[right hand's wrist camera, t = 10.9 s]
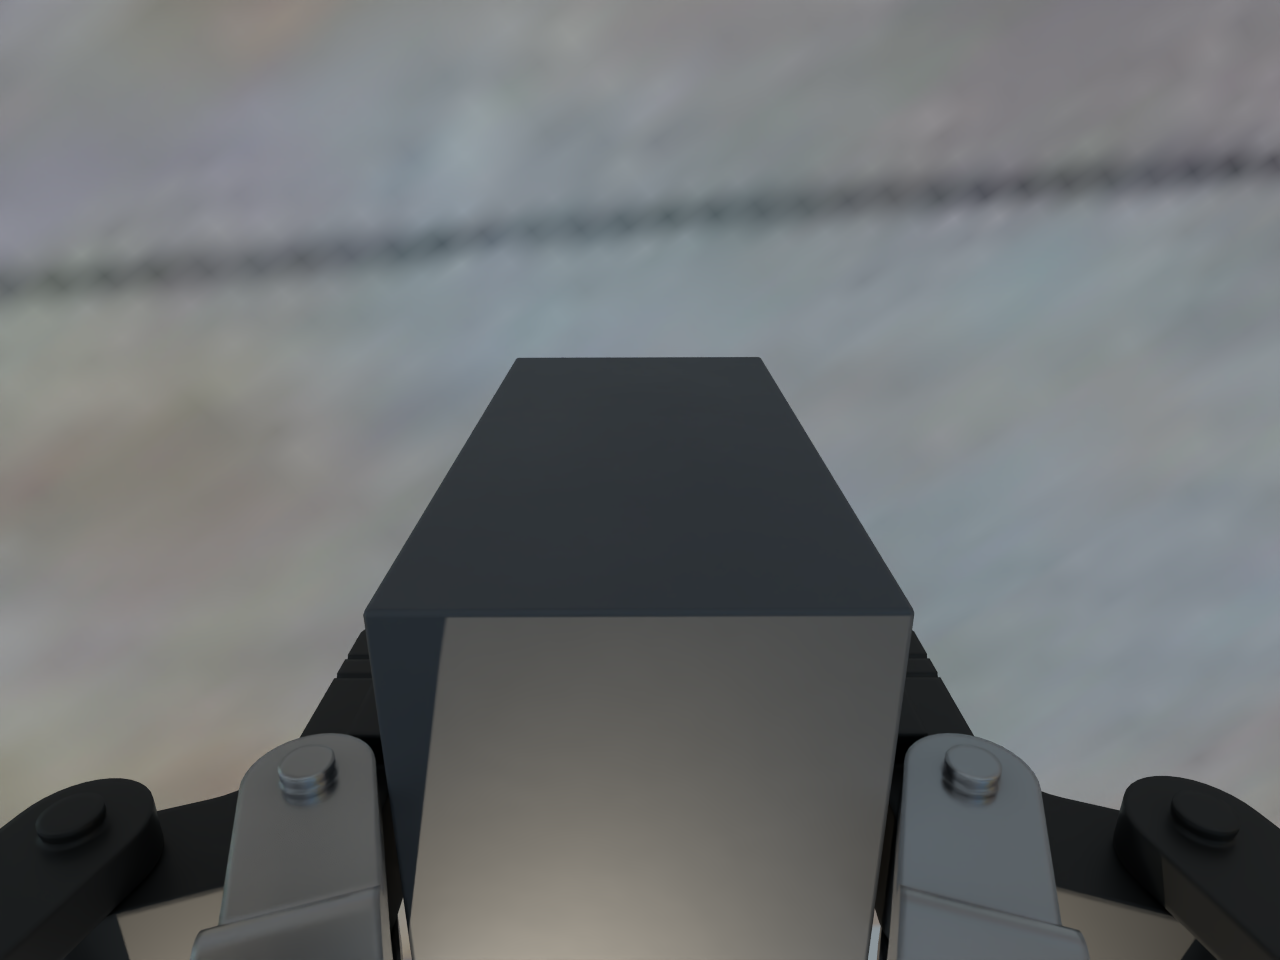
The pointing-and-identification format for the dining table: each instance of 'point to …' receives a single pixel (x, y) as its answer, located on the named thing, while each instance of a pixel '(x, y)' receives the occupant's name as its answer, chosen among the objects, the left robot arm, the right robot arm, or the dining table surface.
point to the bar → (639, 678)
